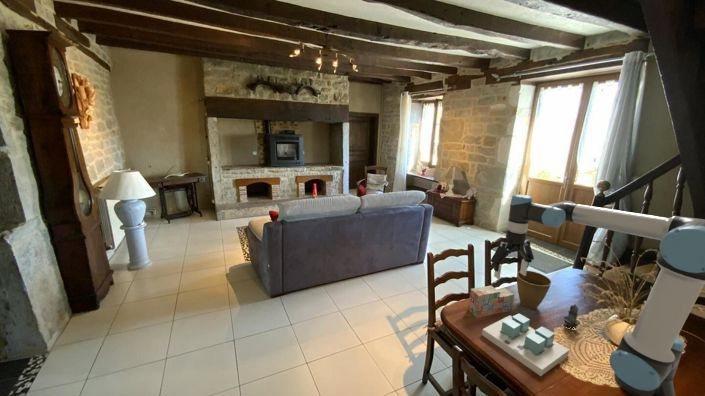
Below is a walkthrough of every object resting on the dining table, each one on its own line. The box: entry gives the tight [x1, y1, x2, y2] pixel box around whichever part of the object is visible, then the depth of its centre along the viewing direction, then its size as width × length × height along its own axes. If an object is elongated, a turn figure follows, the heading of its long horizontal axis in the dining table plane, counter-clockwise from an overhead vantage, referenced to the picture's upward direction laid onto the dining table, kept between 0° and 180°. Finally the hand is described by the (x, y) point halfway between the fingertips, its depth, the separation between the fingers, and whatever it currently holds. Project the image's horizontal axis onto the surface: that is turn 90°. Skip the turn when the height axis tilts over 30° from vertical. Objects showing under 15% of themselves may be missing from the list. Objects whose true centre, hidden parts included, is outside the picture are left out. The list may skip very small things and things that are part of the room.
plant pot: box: [516, 270, 552, 310], centre depth 148 cm, size 15×15×16 cm
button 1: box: [501, 318, 521, 338], centre depth 124 cm, size 5×5×5 cm
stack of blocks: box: [467, 285, 515, 318], centre depth 144 cm, size 21×6×12 cm, turn 106°
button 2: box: [512, 313, 531, 333], centre depth 127 cm, size 5×5×5 cm
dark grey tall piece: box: [562, 304, 580, 329], centre depth 132 cm, size 6×6×12 cm
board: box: [481, 315, 570, 377], centre depth 122 cm, size 25×20×3 cm
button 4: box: [534, 326, 556, 348], centre depth 119 cm, size 5×5×5 cm
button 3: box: [524, 332, 546, 355], centre depth 116 cm, size 5×5×5 cm
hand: (510, 275), depth 128 cm, fingers open, 13 cm apart
